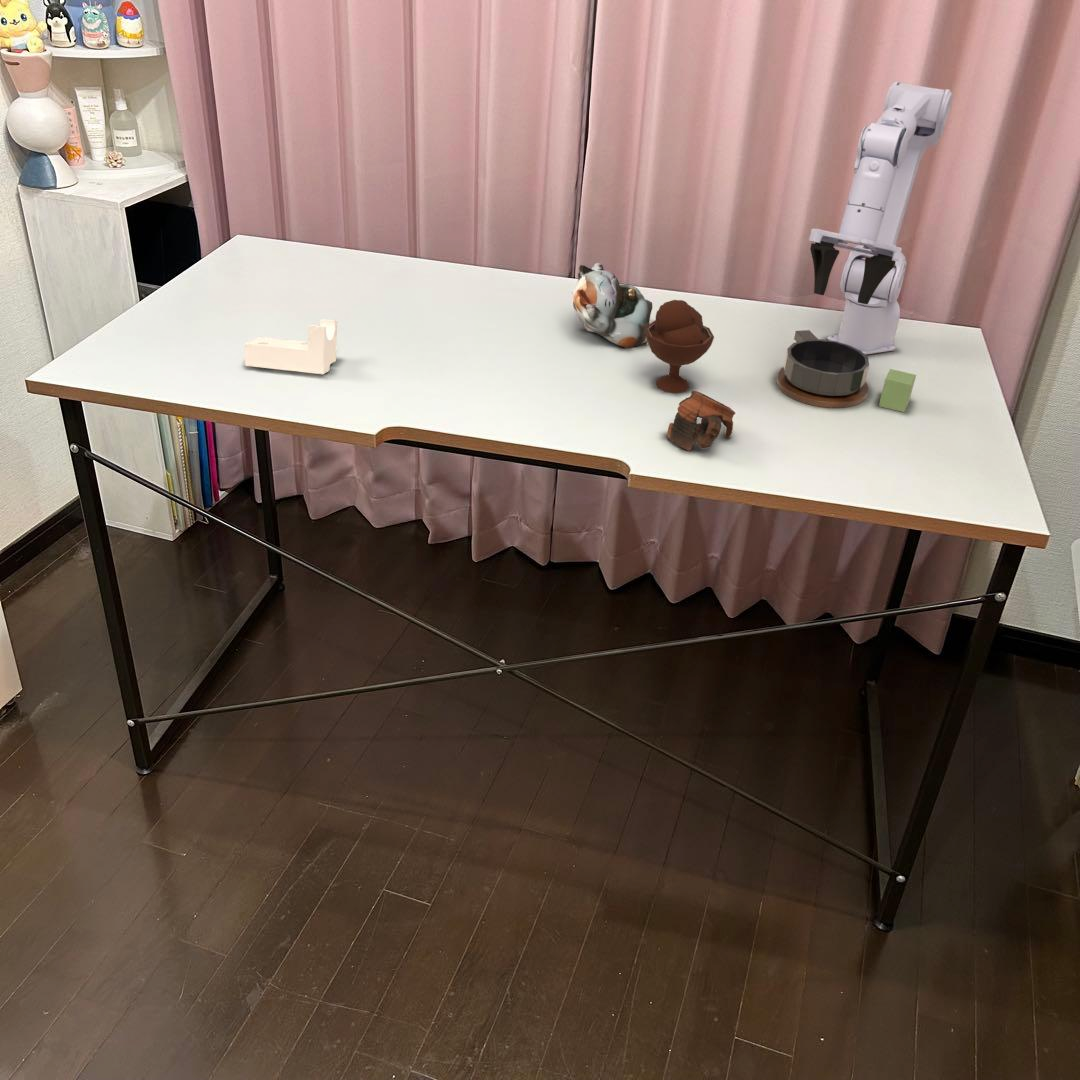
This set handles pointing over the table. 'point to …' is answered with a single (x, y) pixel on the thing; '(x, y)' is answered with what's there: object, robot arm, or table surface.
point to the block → (897, 390)
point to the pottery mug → (710, 426)
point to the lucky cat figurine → (611, 307)
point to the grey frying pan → (825, 365)
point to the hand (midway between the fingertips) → (840, 298)
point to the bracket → (296, 350)
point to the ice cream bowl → (677, 341)
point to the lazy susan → (820, 399)
